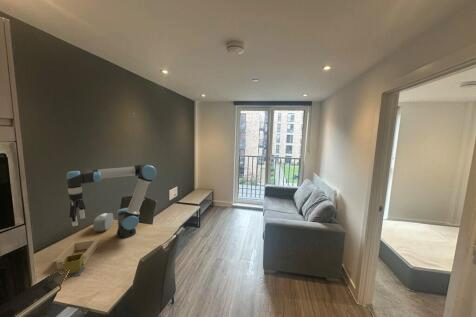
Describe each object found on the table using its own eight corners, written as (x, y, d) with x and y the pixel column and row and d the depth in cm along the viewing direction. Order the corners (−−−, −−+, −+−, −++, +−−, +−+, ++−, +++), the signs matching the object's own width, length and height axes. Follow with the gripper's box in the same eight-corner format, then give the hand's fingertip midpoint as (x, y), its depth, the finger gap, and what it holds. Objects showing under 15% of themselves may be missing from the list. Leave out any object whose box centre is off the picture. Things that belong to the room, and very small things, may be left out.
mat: (85, 267, 132) (85, 266, 132) (79, 275, 124) (79, 274, 124) (69, 270, 129) (68, 269, 129) (62, 278, 122) (62, 277, 122)
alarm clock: (102, 224, 198) (102, 211, 197) (113, 223, 201) (112, 210, 199) (93, 234, 178) (92, 219, 177) (105, 232, 181) (104, 218, 179)
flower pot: (63, 277, 121) (61, 263, 120) (67, 269, 129) (66, 256, 128) (81, 273, 125) (79, 259, 124) (84, 265, 133) (83, 252, 132)
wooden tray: (101, 245, 159) (100, 238, 159) (85, 266, 133) (85, 257, 132) (73, 249, 154) (72, 241, 153) (51, 271, 128) (50, 263, 127)
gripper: (76, 189, 152) (79, 216, 155) (60, 198, 129) (64, 230, 132) (88, 188, 155) (91, 214, 157) (74, 197, 132) (78, 228, 134)
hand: (79, 221), depth 145 cm, fingers open, 13 cm apart
